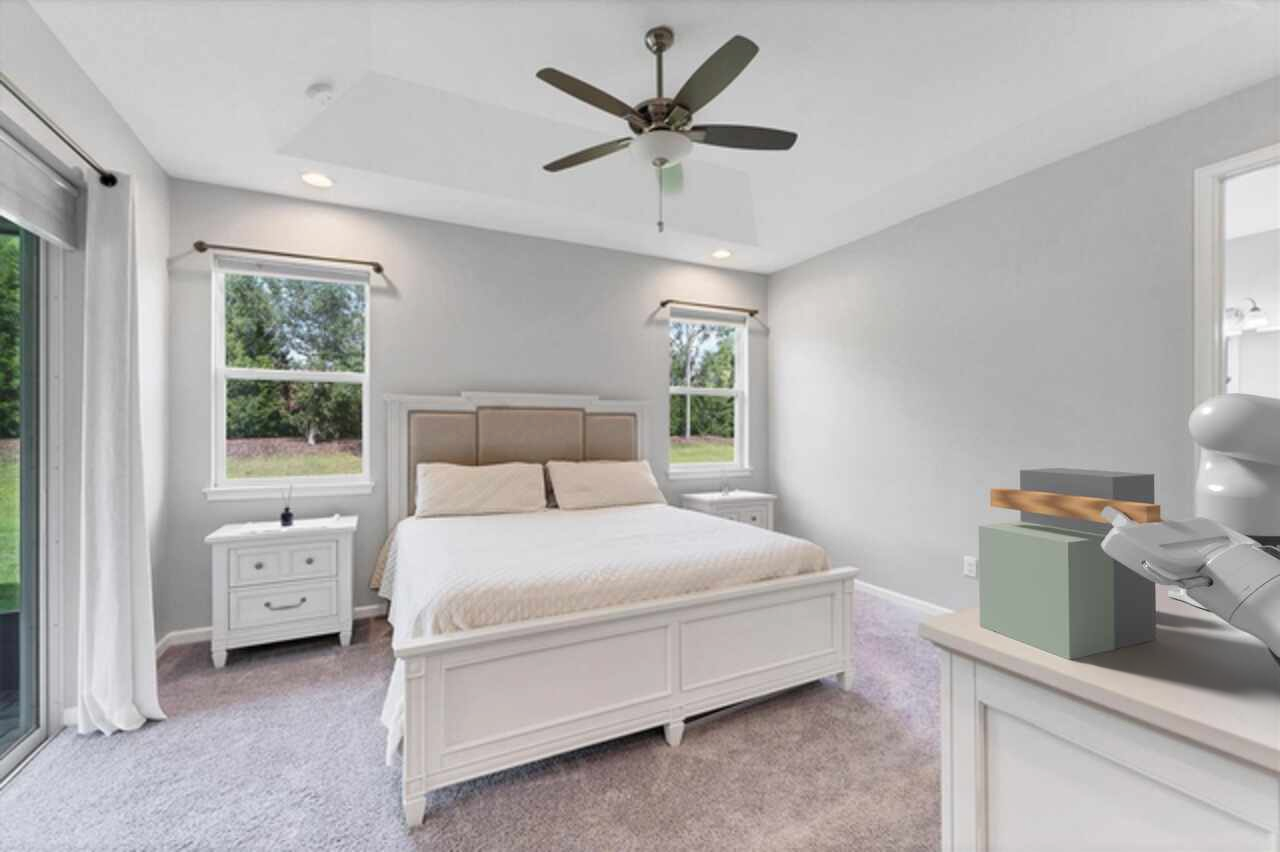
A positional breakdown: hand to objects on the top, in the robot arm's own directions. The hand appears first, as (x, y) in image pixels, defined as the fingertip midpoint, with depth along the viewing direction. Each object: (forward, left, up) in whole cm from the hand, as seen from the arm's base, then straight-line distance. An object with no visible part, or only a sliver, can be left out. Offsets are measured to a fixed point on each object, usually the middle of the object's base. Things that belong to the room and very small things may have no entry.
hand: (1116, 508), depth 76 cm
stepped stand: (-8, -8, -22) cm, 25 cm away
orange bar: (-2, -6, -2) cm, 7 cm away
